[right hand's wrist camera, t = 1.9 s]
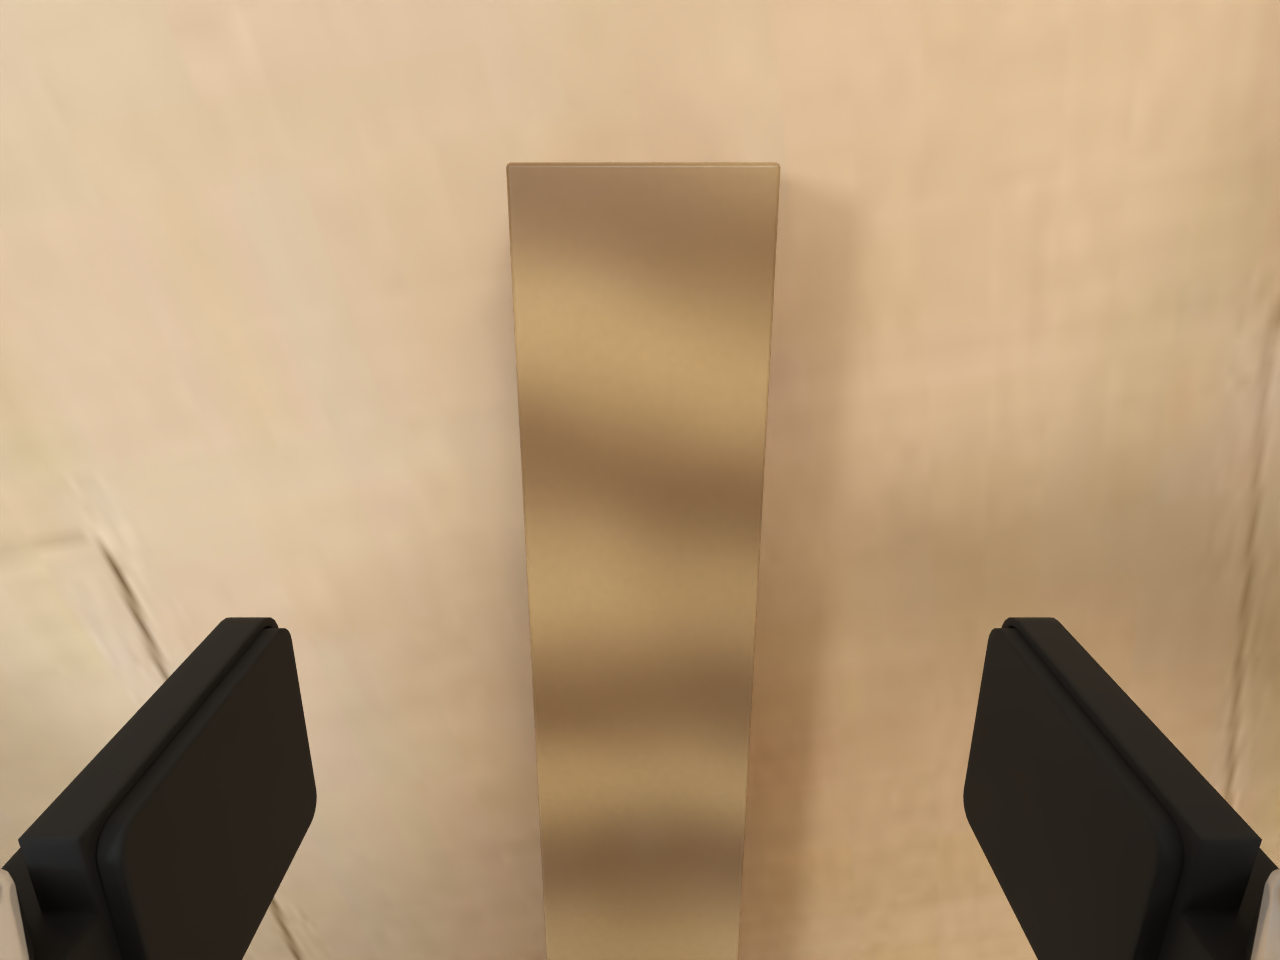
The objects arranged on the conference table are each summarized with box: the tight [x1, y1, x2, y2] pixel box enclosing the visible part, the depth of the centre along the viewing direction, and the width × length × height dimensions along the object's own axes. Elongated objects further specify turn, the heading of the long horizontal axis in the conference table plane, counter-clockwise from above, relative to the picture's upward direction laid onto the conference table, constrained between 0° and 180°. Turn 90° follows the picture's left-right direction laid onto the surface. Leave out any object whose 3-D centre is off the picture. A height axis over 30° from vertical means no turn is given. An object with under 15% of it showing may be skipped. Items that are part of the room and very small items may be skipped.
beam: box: [506, 163, 780, 960], centre depth 29 cm, size 51×6×6 cm, turn 0°
